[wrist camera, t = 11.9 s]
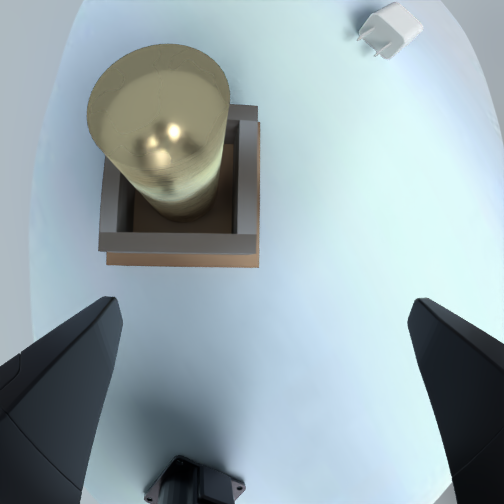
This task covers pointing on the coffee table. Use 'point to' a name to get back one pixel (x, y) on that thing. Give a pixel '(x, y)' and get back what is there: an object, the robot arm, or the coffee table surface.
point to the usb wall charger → (390, 30)
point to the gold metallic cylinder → (164, 126)
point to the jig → (201, 230)
